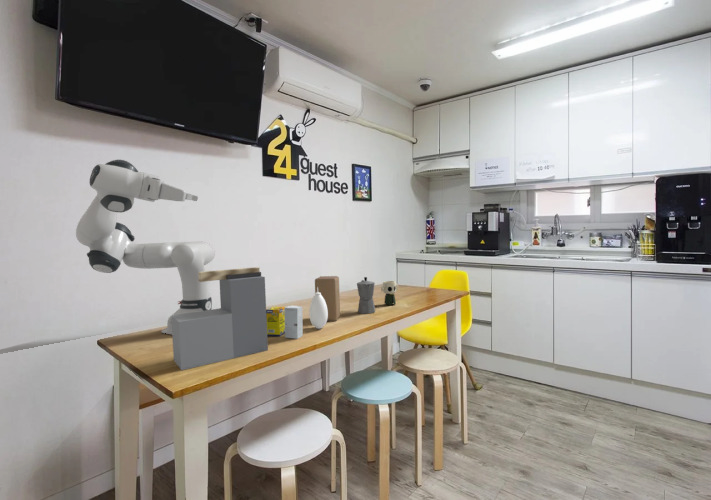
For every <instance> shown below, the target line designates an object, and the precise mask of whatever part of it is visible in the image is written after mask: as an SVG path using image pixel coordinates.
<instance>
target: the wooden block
mask: <svg viewBox="0 0 711 500" xmlns="http://www.w3.org/2000/svg"><path fill="white" fill-rule="evenodd" d="M317 287H318V292H319V293H321V295H322V297H323V298H324V300H325V302H326V305H327V310H328V318H327V322H336V321H337V320H338V319H339V318H340V316H341V298H340V296H341V295H340V278H339V276H337V275H331V276H330V275H328V276H325V275H324V276H322V275H321V276H319V277H317V278H315V279H314V294H315V293H317Z"/></svg>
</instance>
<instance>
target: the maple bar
mask: <svg viewBox="0 0 711 500" xmlns="http://www.w3.org/2000/svg"><path fill="white" fill-rule="evenodd" d="M254 272H261V271H260V267H257V266H256V267H255V266H254V267H246V268H245V267H242V268H231V269H230V268H229V269H219V270H208V271H206V270H205V272H198V277H199V281H200V282H204V281H210V282H212V281H219V280H225V279H226V275H232V274H243V273H254Z"/></svg>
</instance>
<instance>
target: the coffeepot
mask: <svg viewBox="0 0 711 500" xmlns="http://www.w3.org/2000/svg"><path fill="white" fill-rule="evenodd" d="M363 279H364V280H363ZM363 279H361V281H359V282H357V283H356V286H357V293H358V296H359V301H358V309H357V313H358V314H361V315H362V314H363V315H371V314H374V313H376V306H375V301H374V298H373V297H374V292H375V284H376V283H375V282H374V281H370V280H368V277H367V276H364V277H363Z"/></svg>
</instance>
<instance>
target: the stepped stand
mask: <svg viewBox="0 0 711 500" xmlns="http://www.w3.org/2000/svg"><path fill="white" fill-rule="evenodd" d="M218 281H219V297H220V298H219V299H220V300H219V301H220V308H211V310H206V311H199V312H192V313H185V314H178V315H173V314H171V315H170V316H171V319H172V334H171V335H172V337H171V338H172V349H173V350H172V354H173V361H174V362H175V364H176V365H177V367H178V368H179V369H180V370H181V371H184V370H185V371H186V370H188V369H194V368H198V367H203V366H205V365H206V366H207V365H210V364H214V363H219V362H223V361H228V360H232V359H236V358H241V357H245V356H249V355H254V354H257V353H261V352H267V351H269V345H268V336H267V317H266V309H267V299H266V298H267V297H266V277H265V276H262V272H261V271H260V272H254V273H243V274H232V275H226V279H225V280H218Z"/></svg>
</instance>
